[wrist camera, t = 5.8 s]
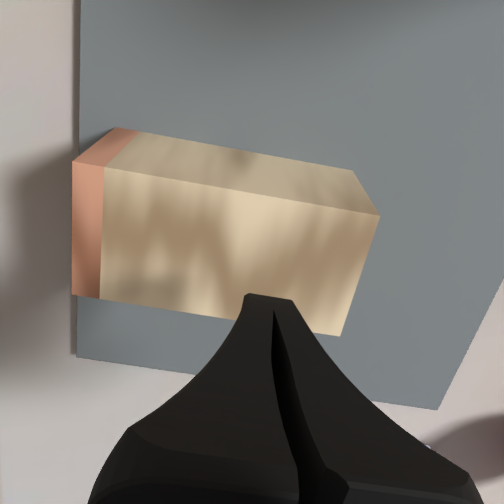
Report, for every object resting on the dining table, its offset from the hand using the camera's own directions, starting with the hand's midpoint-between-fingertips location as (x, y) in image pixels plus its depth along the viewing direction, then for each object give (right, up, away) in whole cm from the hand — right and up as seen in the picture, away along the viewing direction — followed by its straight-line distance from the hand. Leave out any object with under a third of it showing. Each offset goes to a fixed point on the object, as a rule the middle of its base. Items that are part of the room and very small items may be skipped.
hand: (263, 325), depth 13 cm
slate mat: (+2, +4, +8) cm, 9 cm away
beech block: (+3, +2, +6) cm, 7 cm away
